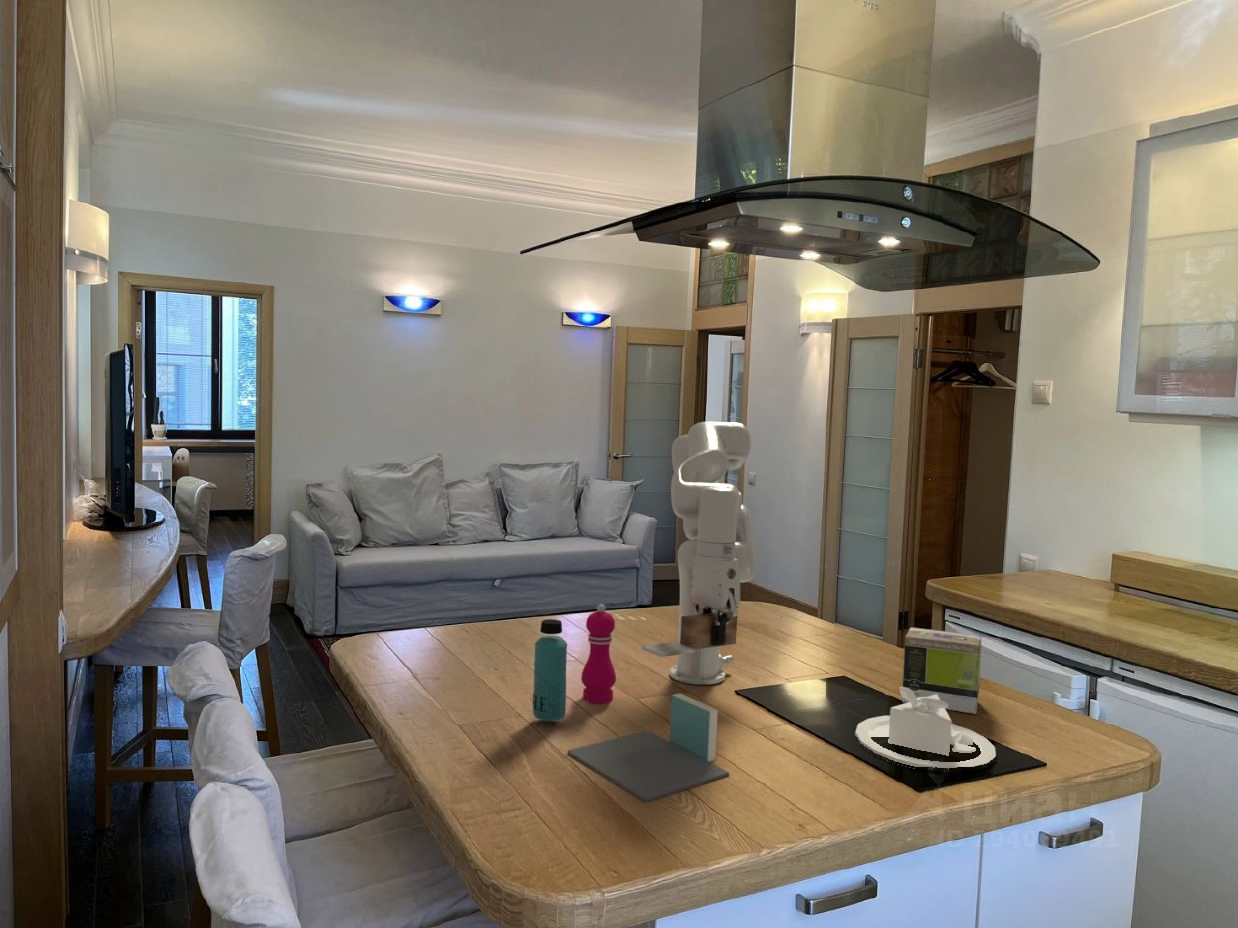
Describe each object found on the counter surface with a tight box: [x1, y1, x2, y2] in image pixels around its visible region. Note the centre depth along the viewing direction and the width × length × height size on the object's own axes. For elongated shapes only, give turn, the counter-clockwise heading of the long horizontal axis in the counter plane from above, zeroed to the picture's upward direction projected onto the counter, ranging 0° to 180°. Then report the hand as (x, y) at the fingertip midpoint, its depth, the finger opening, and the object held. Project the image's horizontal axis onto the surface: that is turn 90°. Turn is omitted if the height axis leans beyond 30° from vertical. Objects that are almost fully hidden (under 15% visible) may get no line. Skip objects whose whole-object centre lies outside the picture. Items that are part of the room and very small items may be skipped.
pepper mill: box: [581, 603, 617, 704], centre depth 180 cm, size 7×7×20 cm
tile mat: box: [567, 729, 730, 803], centre depth 149 cm, size 18×22×1 cm
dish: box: [854, 686, 997, 769], centre depth 162 cm, size 25×25×11 cm
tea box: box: [901, 626, 982, 715], centre depth 186 cm, size 15×10×15 cm, turn 65°
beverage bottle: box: [532, 618, 568, 722], centre depth 166 cm, size 6×7×20 cm
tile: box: [669, 692, 718, 763], centre depth 155 cm, size 2×10×9 cm, turn 37°
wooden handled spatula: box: [641, 612, 738, 658], centre depth 169 cm, size 20×6×6 cm, turn 124°
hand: (712, 641), depth 171 cm, fingers closed on wooden handled spatula, 2 cm apart
